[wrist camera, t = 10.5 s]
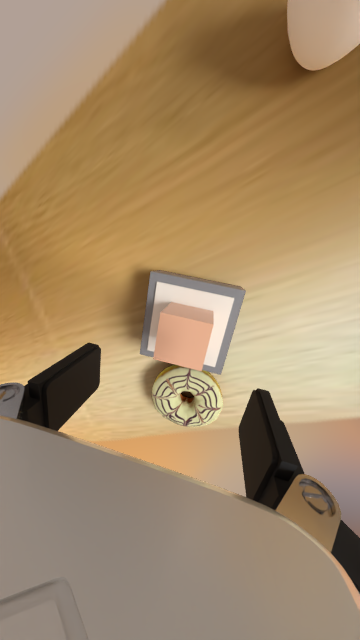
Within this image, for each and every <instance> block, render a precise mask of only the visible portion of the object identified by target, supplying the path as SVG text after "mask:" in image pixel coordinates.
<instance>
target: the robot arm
mask: <svg viewBox="0 0 360 640" xmlns="http://www.w3.org/2000/svg"><path fill="white" fill-rule="evenodd" d="M100 359H101V349H100V348H99V346H98V345H96V344H92V343H87V344H85V345H84V346H82V347H81V348H79V349H78V350H76V351H74V352H73V353H71V354H70V355H68V356H66V357H65V358H63V359H62V360H60V361H59V362H57V363H55V364H54V365H52V366H51V367H49V368H48V369H46V370H44V371H43V372H41V373H40V374H38V375H36V376H35V377H33V378H32V379H30V380H29V381H28V384H27V385H25V386H23V385H22V384H20V383H5V384H1V385H0V640H360V538H359V537H358V536H357V535H356V534H355V533H354V532H353V531H352V530H351V529H350V528H349V527H348V526H347V525H346V524H345V523H344V522H343V521H342V520H341V511H340V508H339V505H338V503H337V501H336V499H335V498H334V496H333V495H332V494H331V492H330V491H329V490H328V489H327V488H326V487H325V486H324V485H323V484H322V483H321V482H319V481H318V480H317V479H315V478H313V477H311V476H309V475H305V474H304V472H303V469H302V467H301V464H300V462H299V459H298V457H297V454H296V452H295V449H294V447H293V445H292V442H291V439H290V437H289V435H288V432H287V430H286V427H285V425H284V423H283V422H282V421H281V420H280V418H279V416H278V413H277V411H276V408H275V406H274V403H273V400H272V398H271V395H270V393H269V391H266V390H262V389H257V390H253V392H252V394H251V397H250V399H249V402H248V404H247V407H246V410H245V412H244V415H243V417H242V420H241V423H240V425H239V438H240V447H241V456H242V464H243V472H244V480H245V489H246V497H244V496H241V495H239V494H236V493H233V492H230V491H228V490H225V489H222V488H220V487H217V486H215V485H212V484H209V483H206V482H203V481H201V480H197V479H195V478H192V477H189V476H186V475H183V474H181V473H178V472H175V471H172V470H169V469H166V468H163V467H161V466H158V465H155V464H152V463H149V462H146V461H143V460H141V459H137V458H134V457H132V456H129V455H126V454H123V453H120V452H117V451H114V450H111V449H108V448H106V447H103V446H100V445H97V444H94V443H91V442H88V441H85V440H82V439H79V438H76V437H73V436H70V435H67V434H64V433H61V432H58V430H59V429H60V428H61V427H62V426H63V425H64V424H65V422H66V421H67V420H68V419H69V418H70V417H71V416H72V415H73V414H74V413H75V412H76V411H77V410H78V409H79V408H80V407H81V405H82V404H83V403H84V402H85V401H86V400H87V399H88V398H89V397H90V396H91V395H92V394H93V393H94V392H95V391H96V390H97V388H98V386H99V383H100Z"/></svg>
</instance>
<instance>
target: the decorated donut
mask: <svg viewBox="0 0 360 640" xmlns="http://www.w3.org/2000/svg"><path fill="white" fill-rule="evenodd" d="M182 391H188V392H191V393H192V394H193V395H194V397H193V398H187V397H184V396H183V395H182V394H181V392H182ZM152 399H153V402H154V406H155V409H156V410H157V411H158V412H159V413H160V414H161V415H162V416H163V417H164V418H166V419H168V420H170V421H172V422H174V423H176V424H178V425H182V426H186V427H200V426H204V425H208V424H210V423H211V422H213V421H215V420H216V419H217V417H218V415H219V414H220V412H221V410H222V408H223V399H222V394H221V390H220V387H219V385H218V383H217V381H216V380H215V378H214V377H213V376H212V375H211V374H210V373H209V372H208V371H204V370H202V371H198V370H194V369H190V368H186V367H182V366H179V365H175V364H174V365H172V366H170V367H168V368H166V369H165V370H164V371H162V372H161V373H160V374H159V375H158V377H157V378H156V379H155V382H154V385H153V388H152Z"/></svg>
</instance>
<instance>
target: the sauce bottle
mask: <svg viewBox="0 0 360 640" xmlns="http://www.w3.org/2000/svg"><path fill="white" fill-rule="evenodd" d="M287 24H288V36H289V41H290V46H291V50H292V53H293V55H294V57H295V59H296V61H297V62H298V63H299V64H300V65H301V66H302V67H304V68H305V69H307V70H313V71H314V70H320V69H323V68H326V67H328V66H330V65H331V64H333V63H335V62H336V61H338V60H340V59H341V58H343V57H344V56H345V55H347V54H348V53H349V52H350V51H352V50H353V49H354V48H355V47H357V46H358V45H359V44H360V0H288V5H287Z"/></svg>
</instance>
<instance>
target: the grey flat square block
mask: <svg viewBox="0 0 360 640" xmlns="http://www.w3.org/2000/svg"><path fill="white" fill-rule="evenodd" d="M245 292H246V291H245V290H244V289H243V288H242V287H240V286H235V285H230V284H225V283H220V282H215V281H211V280H206V279H201V278H196V277H191V276H186V275H181V274H176V273H171V272H167V271H162V270H157V271H151V272H150V280H149V287H148V295H147V303H146V310H145V318H144V326H143V334H142V341H141V349H140V354H142V355H146V356H150V357H154V350H155V344H156V337H157V331H158V325H159V318H160V312H161V311H162V310H163V309H165V308H166V307H167V306H168V305H169V304H170V303H171V302H174V303H179V304H183V305H188V306H193V307H197V308H202V309H206V310H211V311H213V314H214V325H213V329H212V333H211V337H210V341H209V344H208V348H207V352H206V356H205V360H204V364H203V368H202V370H204V371H208V372H212V373H216V374H220V375H221V372H222V369H223V366H224V362H225V359H226V356H227V352H228V349H229V345H230V342H231V339H232V335H233V332H234V329H235V325H236V322H237V319H238V315H239V312H240V309H241V305H242V302H243V299H244V295H245Z"/></svg>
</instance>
